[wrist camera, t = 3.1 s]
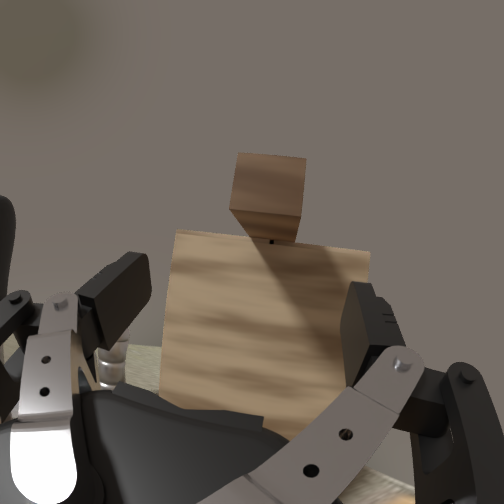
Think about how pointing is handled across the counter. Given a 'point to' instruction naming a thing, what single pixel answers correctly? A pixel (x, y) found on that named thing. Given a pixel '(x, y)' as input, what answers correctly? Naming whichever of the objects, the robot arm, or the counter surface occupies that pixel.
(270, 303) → the wooden block
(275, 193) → the brown wooden bar
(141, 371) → the counter surface
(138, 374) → the counter surface
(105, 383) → the plastic bottle
